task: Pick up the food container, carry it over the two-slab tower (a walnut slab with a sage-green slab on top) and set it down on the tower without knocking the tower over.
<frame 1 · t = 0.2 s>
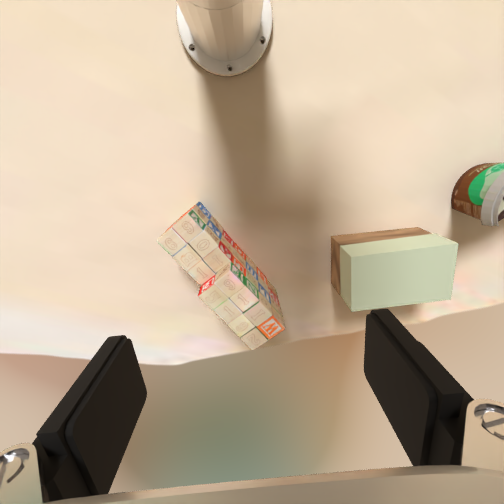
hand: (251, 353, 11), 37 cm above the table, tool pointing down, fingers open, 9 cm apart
stack of blocks: (227, 258, 49), on the table
food container: (474, 177, 45), on the table
tower base slab: (372, 255, 49), on the table, touching tower top slab
tower top slab: (386, 265, 45), point 5 cm above the table, touching tower base slab
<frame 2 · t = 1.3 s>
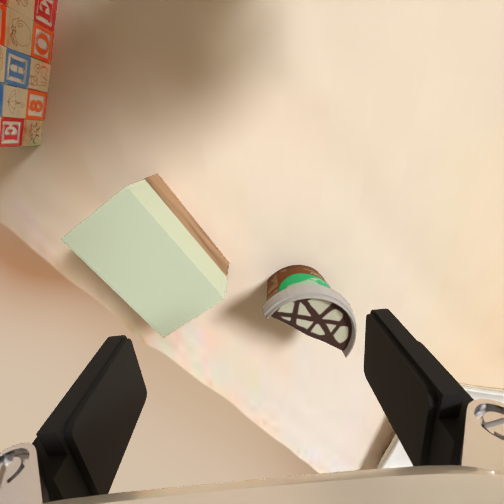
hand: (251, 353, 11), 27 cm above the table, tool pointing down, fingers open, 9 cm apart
stack of blocks: (24, 36, 29), on the table
square plate: (452, 426, 54), on the table
food container: (305, 278, 40), on the table
tower base slab: (170, 238, 38), on the table, touching tower top slab
tower top slab: (160, 252, 33), point 5 cm above the table, touching tower base slab
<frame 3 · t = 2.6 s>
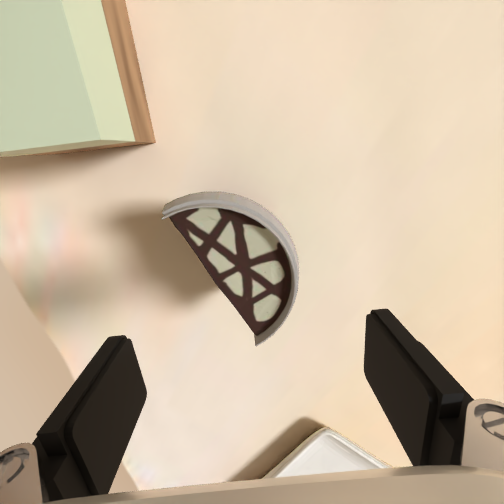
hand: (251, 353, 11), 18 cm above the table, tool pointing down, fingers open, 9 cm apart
square plate: (323, 493, 44), on the table
food container: (250, 225, 27), on the table
tower base slab: (80, 49, 22), on the table, touching tower top slab
tower top slab: (35, 24, 18), point 5 cm above the table, touching tower base slab
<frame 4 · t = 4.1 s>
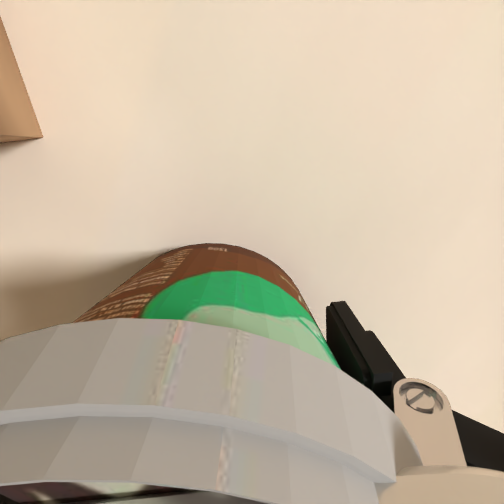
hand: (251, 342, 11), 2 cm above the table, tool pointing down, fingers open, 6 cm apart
food container: (263, 303, 14), on the table, touching gripper
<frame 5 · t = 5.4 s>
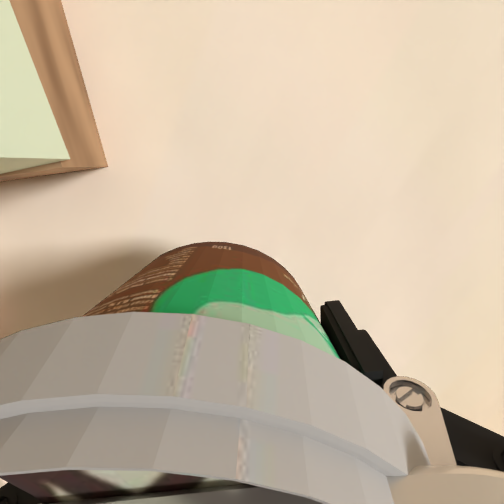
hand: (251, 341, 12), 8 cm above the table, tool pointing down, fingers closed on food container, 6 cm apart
food container: (265, 302, 14), point 6 cm above the table, touching gripper
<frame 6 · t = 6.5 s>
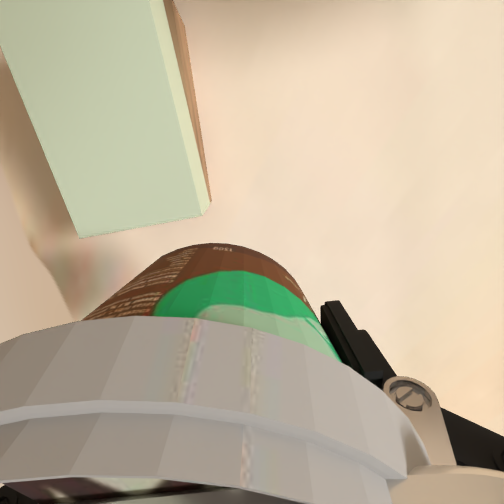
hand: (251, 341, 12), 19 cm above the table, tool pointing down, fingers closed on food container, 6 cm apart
food container: (266, 303, 14), point 17 cm above the table, touching gripper
tower base slab: (153, 127, 26), on the table, touching tower top slab
tower top slab: (133, 121, 22), point 5 cm above the table, touching tower base slab
when the fingers open (13 cm above the table, at t = 8.8 s): food container moves 1 cm, resting on tower top slab.
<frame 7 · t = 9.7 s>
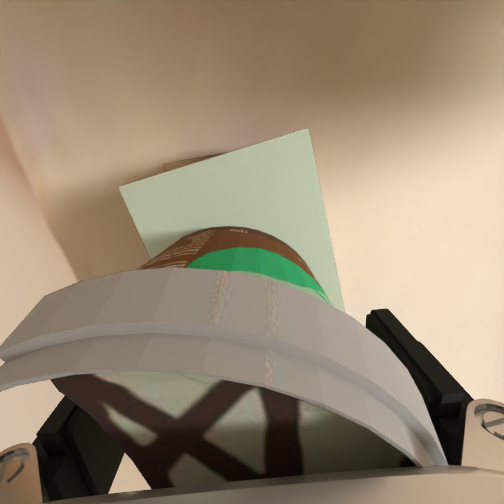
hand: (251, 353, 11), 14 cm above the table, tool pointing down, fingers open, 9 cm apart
food container: (278, 285, 15), point 10 cm above the table, touching tower top slab
tower base slab: (251, 241, 24), on the table, touching tower top slab
tower top slab: (253, 263, 20), point 5 cm above the table, touching food container, tower base slab
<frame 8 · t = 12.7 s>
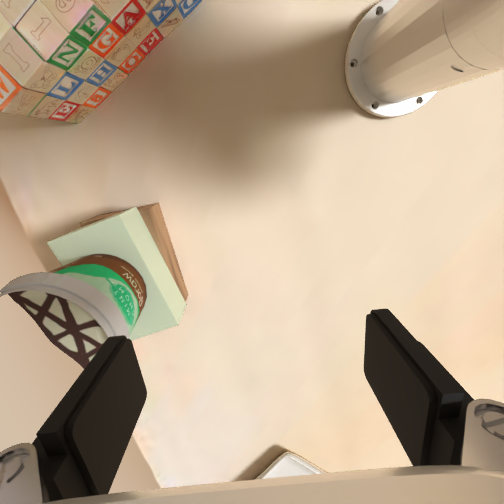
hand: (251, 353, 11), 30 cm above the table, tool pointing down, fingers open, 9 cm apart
stack of blocks: (119, 43, 33), on the table
square plate: (292, 495, 63), on the table
food container: (126, 278, 32), point 9 cm above the table, touching tower top slab
tower base slab: (146, 256, 42), on the table, touching tower top slab
tower top slab: (133, 269, 37), point 5 cm above the table, touching food container, tower base slab
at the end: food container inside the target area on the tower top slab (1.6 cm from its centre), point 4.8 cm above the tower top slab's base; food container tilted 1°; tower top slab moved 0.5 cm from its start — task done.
